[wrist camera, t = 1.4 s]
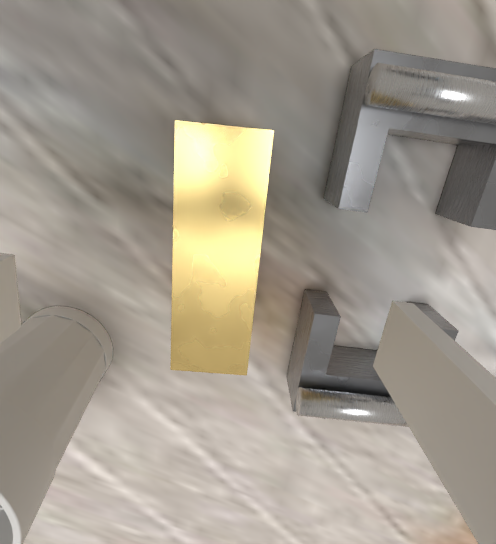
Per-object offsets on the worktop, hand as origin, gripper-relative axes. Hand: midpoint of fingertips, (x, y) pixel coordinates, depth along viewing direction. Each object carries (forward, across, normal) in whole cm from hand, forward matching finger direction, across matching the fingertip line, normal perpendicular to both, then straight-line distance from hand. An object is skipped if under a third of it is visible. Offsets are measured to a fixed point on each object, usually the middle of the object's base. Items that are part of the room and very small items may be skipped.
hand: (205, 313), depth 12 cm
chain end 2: (+10, +10, -6) cm, 15 cm away
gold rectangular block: (+10, 0, 0) cm, 10 cm away
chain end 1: (+10, +10, +7) cm, 16 cm away
